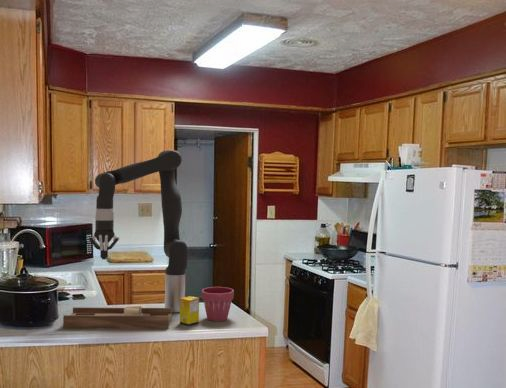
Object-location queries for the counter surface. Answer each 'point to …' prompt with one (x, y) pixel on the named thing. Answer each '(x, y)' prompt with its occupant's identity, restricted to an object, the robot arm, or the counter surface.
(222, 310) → the plant pot
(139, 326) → the walnut track
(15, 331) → the counter surface
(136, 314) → the maple block
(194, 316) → the supplement box
